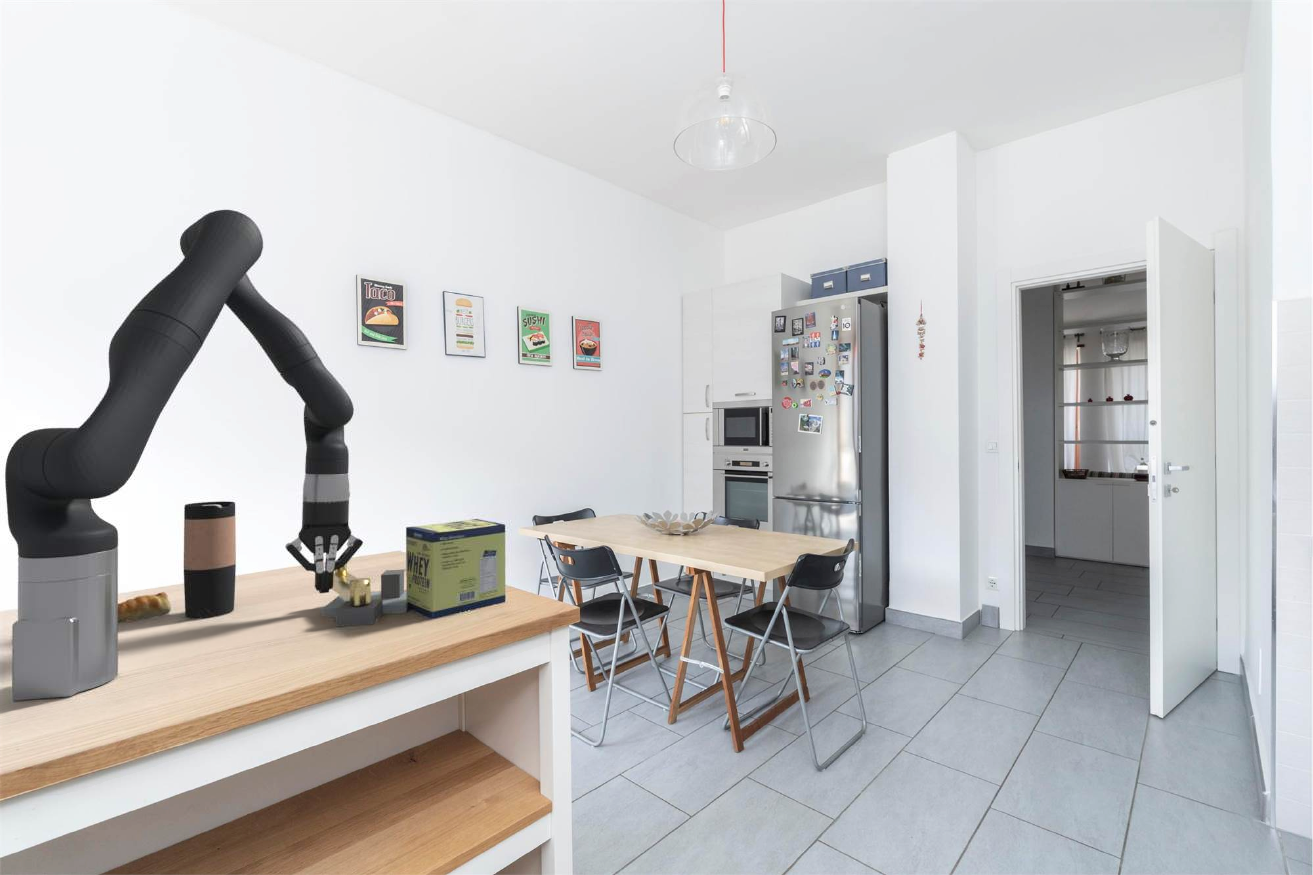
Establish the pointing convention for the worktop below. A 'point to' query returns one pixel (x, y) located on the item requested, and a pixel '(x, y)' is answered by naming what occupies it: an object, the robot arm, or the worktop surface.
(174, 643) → the worktop surface
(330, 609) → the plate
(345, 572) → the bar
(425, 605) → the protein box
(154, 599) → the pastry
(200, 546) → the travel mug
